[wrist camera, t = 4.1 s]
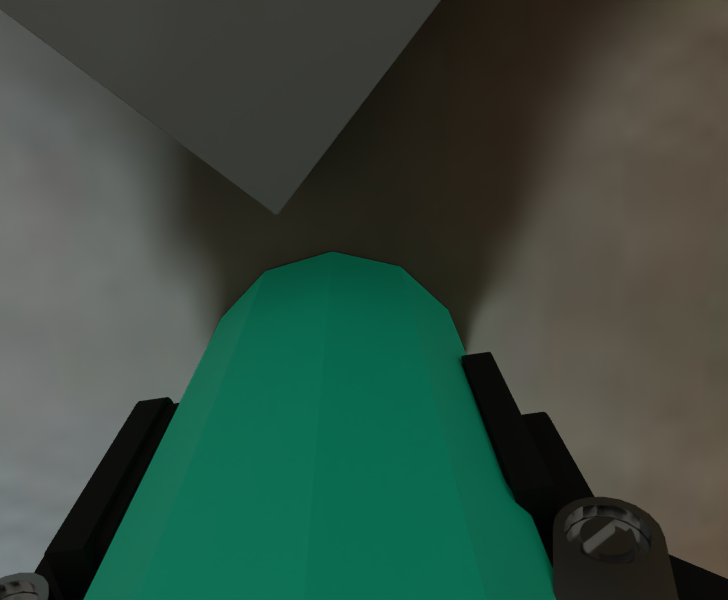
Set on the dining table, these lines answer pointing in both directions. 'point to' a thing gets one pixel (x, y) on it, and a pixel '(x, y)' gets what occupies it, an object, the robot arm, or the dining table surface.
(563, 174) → the dining table surface
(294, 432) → the candle
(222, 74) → the plinth
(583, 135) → the dining table surface
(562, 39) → the dining table surface
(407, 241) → the dining table surface
